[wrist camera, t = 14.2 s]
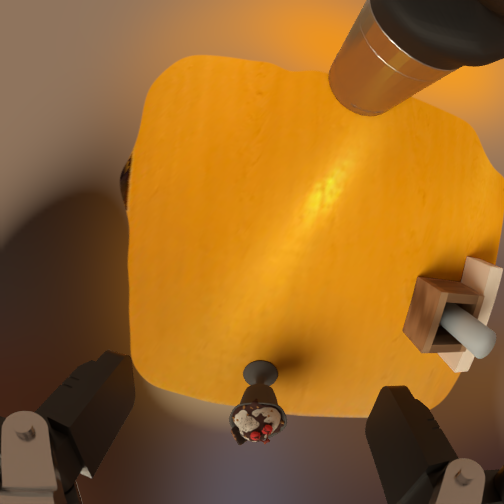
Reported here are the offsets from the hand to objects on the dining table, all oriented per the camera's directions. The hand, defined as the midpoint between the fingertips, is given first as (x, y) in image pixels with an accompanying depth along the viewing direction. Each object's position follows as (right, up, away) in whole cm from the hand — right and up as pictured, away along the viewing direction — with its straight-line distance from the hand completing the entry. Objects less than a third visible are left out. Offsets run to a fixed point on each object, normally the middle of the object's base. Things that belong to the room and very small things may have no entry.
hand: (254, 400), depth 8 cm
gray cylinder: (+27, -4, +27) cm, 39 cm away
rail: (+32, -4, +28) cm, 43 cm away
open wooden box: (+26, -3, +28) cm, 38 cm away
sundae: (+1, -13, +32) cm, 34 cm away
